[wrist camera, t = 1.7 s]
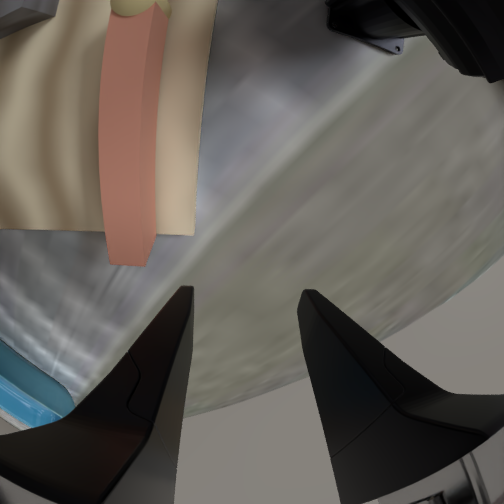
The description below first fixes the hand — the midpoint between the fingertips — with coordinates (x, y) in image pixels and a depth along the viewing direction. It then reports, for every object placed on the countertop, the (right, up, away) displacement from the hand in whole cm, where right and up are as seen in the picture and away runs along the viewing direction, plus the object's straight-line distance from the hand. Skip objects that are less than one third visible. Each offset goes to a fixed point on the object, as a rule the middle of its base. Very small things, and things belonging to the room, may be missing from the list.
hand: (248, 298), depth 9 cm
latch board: (-14, +13, +6) cm, 20 cm away
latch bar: (-7, +10, +6) cm, 14 cm away
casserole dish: (-44, -18, +21) cm, 52 cm away
